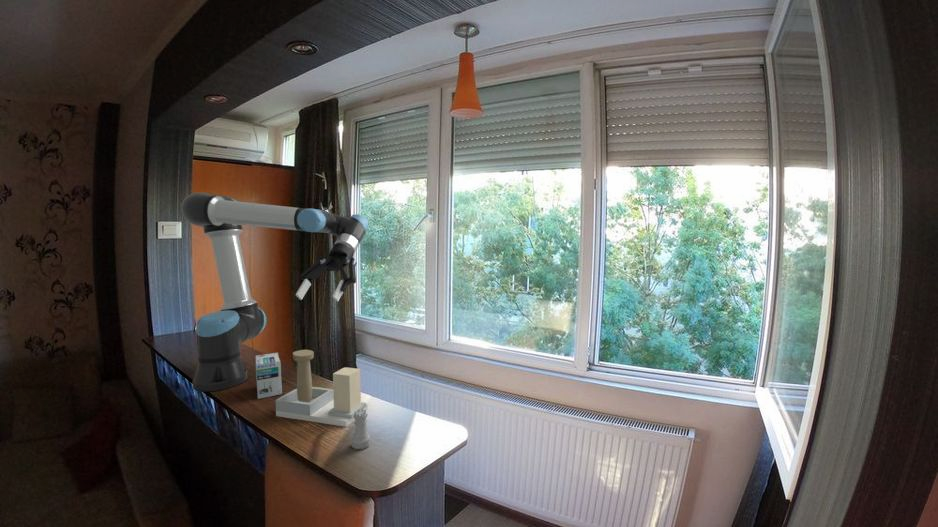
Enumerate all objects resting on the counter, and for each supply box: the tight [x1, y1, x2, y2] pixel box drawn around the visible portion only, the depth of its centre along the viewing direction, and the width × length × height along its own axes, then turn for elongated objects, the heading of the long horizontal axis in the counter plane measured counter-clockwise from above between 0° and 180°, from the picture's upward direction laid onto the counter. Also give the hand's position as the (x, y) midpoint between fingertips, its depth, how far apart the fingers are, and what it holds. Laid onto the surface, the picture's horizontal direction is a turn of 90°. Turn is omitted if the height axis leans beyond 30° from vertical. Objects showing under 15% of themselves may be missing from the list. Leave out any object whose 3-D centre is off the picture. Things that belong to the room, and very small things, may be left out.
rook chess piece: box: [350, 409, 372, 450], centre depth 82 cm, size 4×4×8 cm
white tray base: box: [275, 366, 368, 428], centre depth 98 cm, size 22×10×12 cm, turn 75°
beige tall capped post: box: [292, 349, 315, 403], centre depth 99 cm, size 5×6×15 cm
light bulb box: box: [254, 352, 283, 400], centre depth 112 cm, size 11×7×11 cm, turn 32°
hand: (316, 298), depth 111 cm, fingers open, 13 cm apart
